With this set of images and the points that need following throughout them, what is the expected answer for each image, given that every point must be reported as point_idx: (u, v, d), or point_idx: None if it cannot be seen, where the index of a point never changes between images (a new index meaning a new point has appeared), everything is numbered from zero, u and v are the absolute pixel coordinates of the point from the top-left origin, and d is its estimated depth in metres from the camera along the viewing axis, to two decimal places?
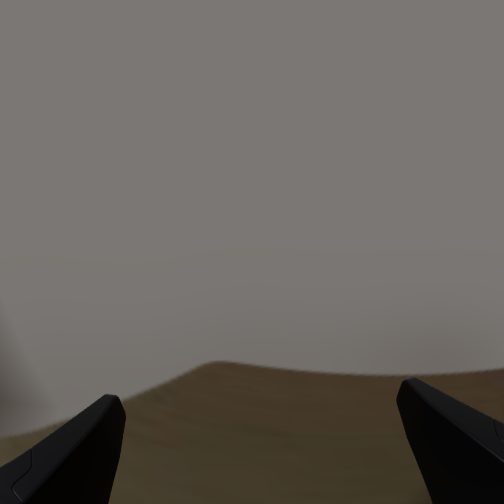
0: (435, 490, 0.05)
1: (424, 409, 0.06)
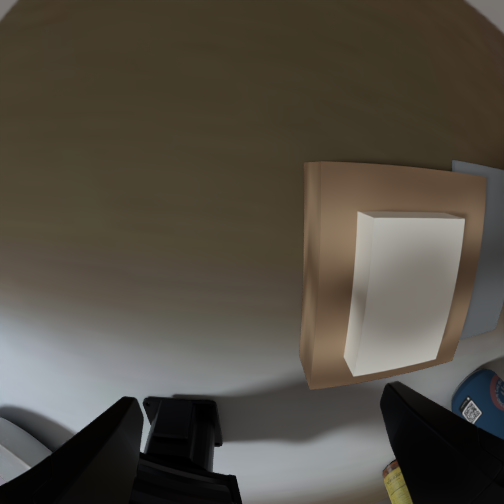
0: (418, 497, 0.05)
1: (406, 415, 0.06)
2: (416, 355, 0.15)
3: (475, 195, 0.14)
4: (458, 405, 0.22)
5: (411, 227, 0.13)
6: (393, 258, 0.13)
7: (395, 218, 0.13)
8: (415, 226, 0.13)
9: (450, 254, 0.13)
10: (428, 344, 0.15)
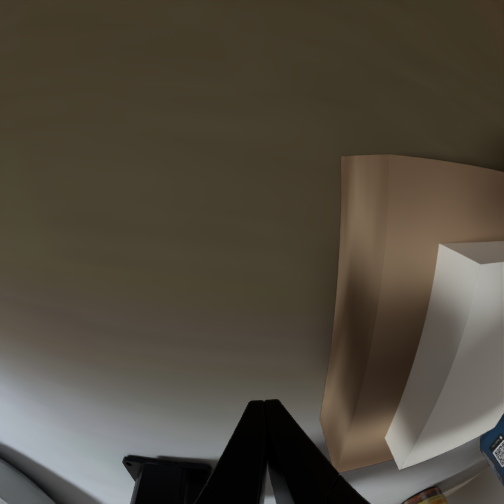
0: None
1: (269, 439, 0.06)
2: (477, 430, 0.08)
3: None
4: (489, 443, 0.16)
5: None
6: (490, 324, 0.06)
7: None
8: None
9: None
10: (493, 416, 0.08)
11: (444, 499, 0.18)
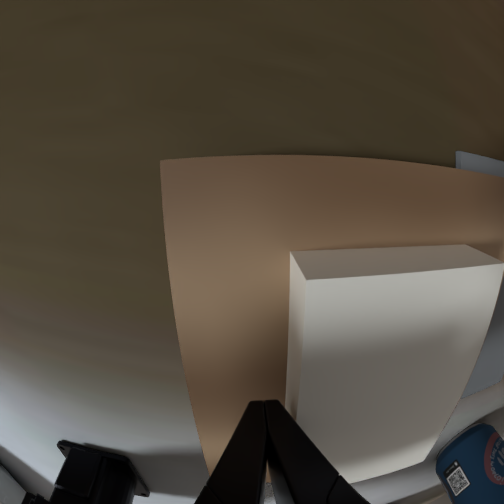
0: None
1: (268, 439, 0.06)
2: (392, 465, 0.08)
3: (497, 213, 0.07)
4: (443, 468, 0.16)
5: (399, 293, 0.06)
6: (355, 354, 0.06)
7: (362, 277, 0.06)
8: (409, 290, 0.06)
9: (471, 330, 0.06)
10: (413, 451, 0.08)
11: None
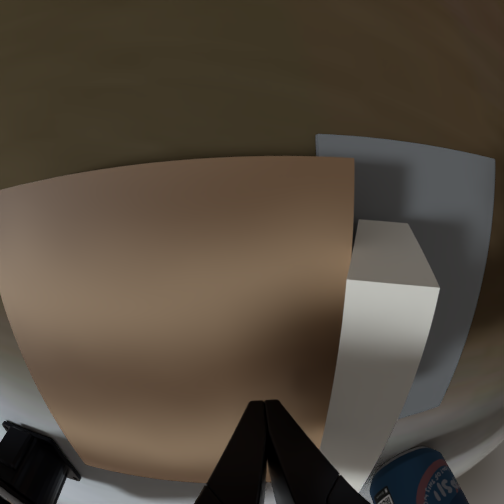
0: None
1: (269, 439, 0.06)
2: None
3: (312, 207, 0.07)
4: (374, 493, 0.16)
5: None
6: None
7: (428, 267, 0.06)
8: None
9: None
10: None
11: None
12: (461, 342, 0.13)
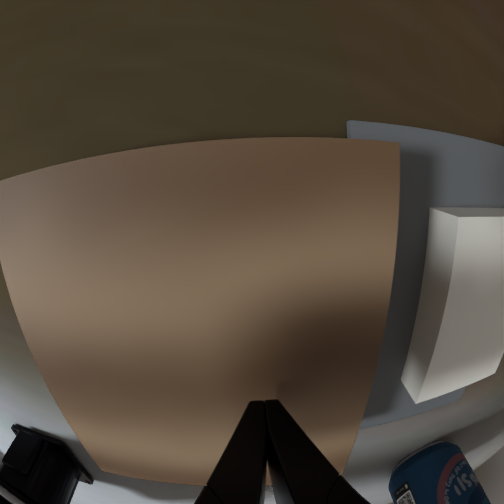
0: None
1: (269, 439, 0.06)
2: None
3: (359, 192, 0.07)
4: (394, 489, 0.15)
5: None
6: None
7: (498, 208, 0.10)
8: None
9: None
10: None
11: None
12: None
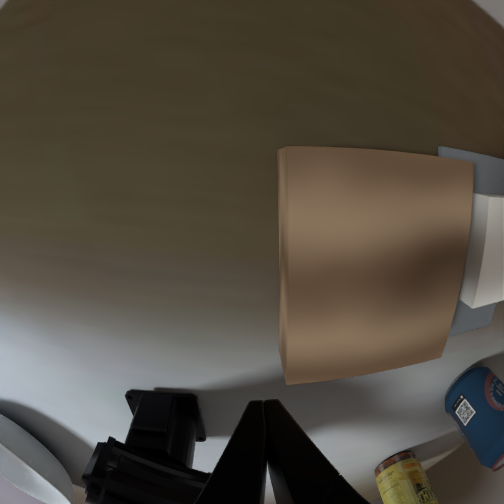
0: None
1: (269, 439, 0.06)
2: None
3: (461, 181, 0.14)
4: (452, 403, 0.22)
5: None
6: None
7: None
8: None
9: None
10: None
11: (418, 463, 0.25)
12: None
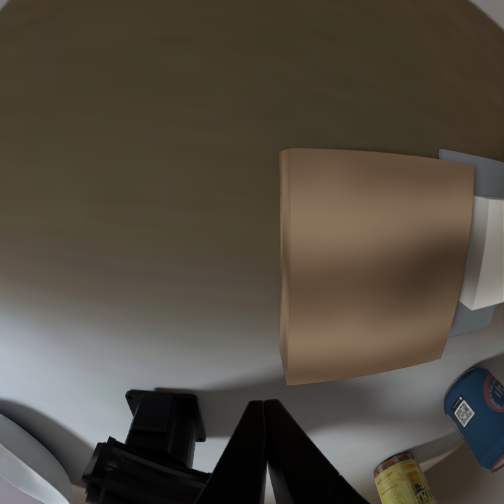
0: None
1: (269, 439, 0.06)
2: None
3: (461, 184, 0.14)
4: (451, 404, 0.22)
5: None
6: None
7: None
8: None
9: None
10: None
11: (416, 464, 0.25)
12: None
